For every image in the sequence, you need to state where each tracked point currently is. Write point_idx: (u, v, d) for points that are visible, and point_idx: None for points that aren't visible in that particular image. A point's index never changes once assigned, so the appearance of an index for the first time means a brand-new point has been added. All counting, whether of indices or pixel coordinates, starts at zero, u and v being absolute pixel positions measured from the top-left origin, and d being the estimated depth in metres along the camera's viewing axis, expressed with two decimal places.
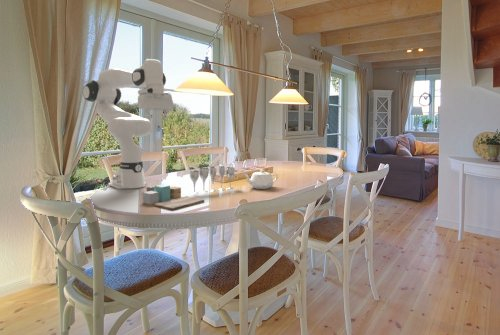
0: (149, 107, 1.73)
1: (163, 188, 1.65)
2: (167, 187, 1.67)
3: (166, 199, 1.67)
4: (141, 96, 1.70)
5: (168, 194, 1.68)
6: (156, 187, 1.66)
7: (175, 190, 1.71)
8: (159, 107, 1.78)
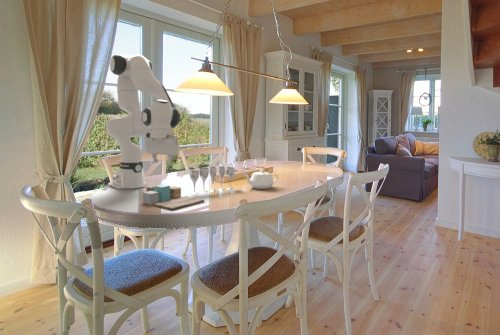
0: (151, 152, 1.67)
1: (163, 188, 1.65)
2: (167, 187, 1.67)
3: (166, 199, 1.67)
4: None
5: (168, 194, 1.68)
6: (156, 187, 1.66)
7: (175, 190, 1.71)
8: (159, 152, 1.63)
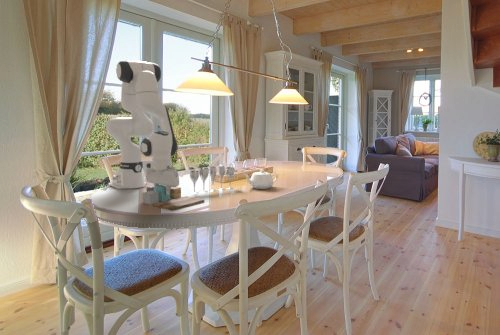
0: (151, 181, 1.69)
1: (163, 188, 1.65)
2: None
3: (166, 199, 1.67)
4: None
5: None
6: (156, 187, 1.66)
7: (175, 190, 1.71)
8: (159, 183, 1.65)
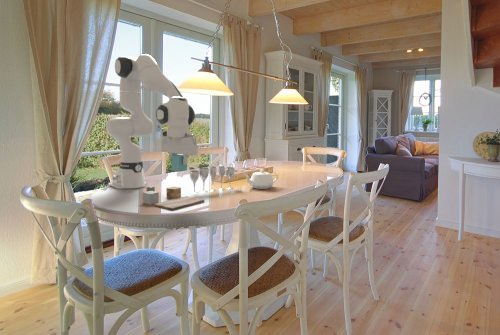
0: (167, 151, 1.60)
1: (180, 157, 1.55)
2: None
3: (183, 169, 1.58)
4: None
5: (186, 164, 1.59)
6: (173, 156, 1.57)
7: (175, 190, 1.71)
8: (176, 151, 1.56)
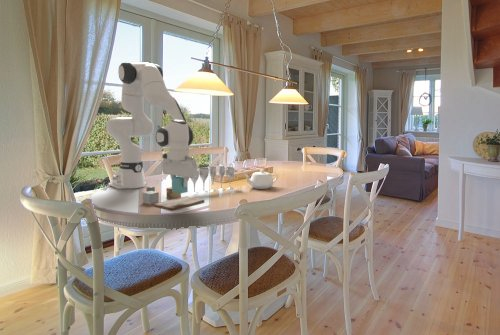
0: (167, 173, 1.61)
1: (180, 179, 1.57)
2: None
3: (183, 191, 1.59)
4: None
5: None
6: (173, 178, 1.58)
7: None
8: (176, 174, 1.57)
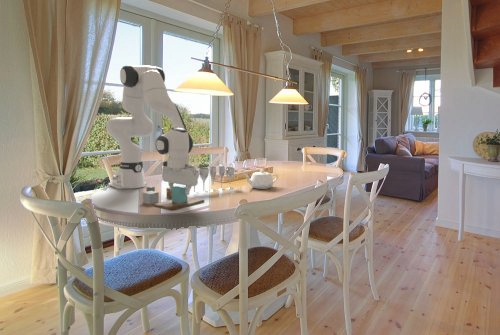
0: (167, 180, 1.62)
1: (180, 189, 1.58)
2: (184, 188, 1.60)
3: (183, 201, 1.60)
4: None
5: (186, 196, 1.61)
6: (173, 188, 1.59)
7: None
8: (177, 182, 1.58)
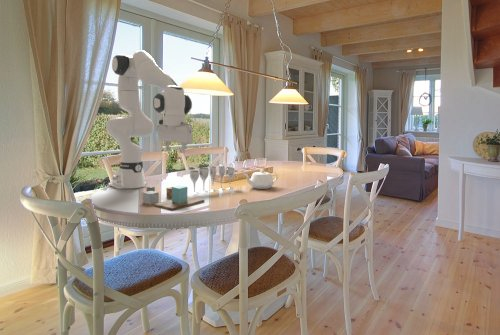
0: (163, 139, 1.62)
1: (180, 189, 1.58)
2: (184, 188, 1.60)
3: (183, 201, 1.60)
4: None
5: (186, 196, 1.61)
6: (173, 188, 1.59)
7: None
8: (172, 140, 1.59)
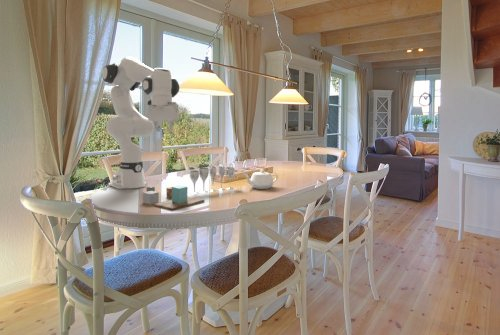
0: (152, 119, 1.73)
1: (180, 189, 1.58)
2: (184, 188, 1.60)
3: (183, 201, 1.60)
4: None
5: (186, 196, 1.61)
6: (173, 188, 1.59)
7: None
8: (160, 119, 1.69)
